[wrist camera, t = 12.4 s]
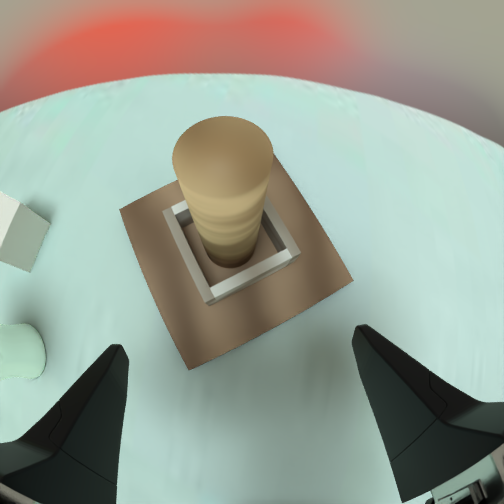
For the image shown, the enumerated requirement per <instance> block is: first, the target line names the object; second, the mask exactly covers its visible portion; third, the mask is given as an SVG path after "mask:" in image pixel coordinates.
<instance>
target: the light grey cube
mask: <svg viewBox="0 0 504 504" xmlns="http://www.w3.org/2000/svg"><path fill="white" fill-rule="evenodd" d="M50 225H51V224H50V223H49V222H47V221H46V220H45V219H43V218H42V217H40V216H39V215H37V214H36V213H35V212H33V211H32V210H30V209H29V208H28V207H26V206H25V205H23V204H22V203H21V202H19V201H17V200H15V199H13V198H11V197H10V196H8V195H6V194H4V193H2V192H0V261H2V262H4V263H7V264H9V265H12V266H14V267H17V268H19V269H22V270H25V271H27V272H31V270H32V267H33V264H34V262H35V259H36V257H37V254H38V252H39V249H40V247H41V245H42V242H43V240H44V238H45V236H46V234H47V231H48V229H49V227H50Z"/></svg>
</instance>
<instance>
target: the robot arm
mask: <svg viewBox="0 0 504 504" xmlns="http://www.w3.org/2000/svg"><path fill="white" fill-rule="evenodd" d="M352 347H353V351H354V354H355V358H356V362H357V366H358V370H359V374H360V378H361V380H362V383H363V386H364V389H365V391H366V394H367V397H368V399H369V402H370V405H371V408H372V410H373V413H374V416H375V419H376V422H377V425H378V428H379V430H380V433H381V436H382V439H383V442H384V445H385V448H386V451H387V455H388V458H389V461H390V464H391V468H392V471H393V474H394V477H395V481H396V484H397V488H398V491H399V494H400V498H401V501H402V503H404V502H407V501H409V500H411V499H413V498H416V497H418V496H420V495H422V494H424V493H426V492H428V491H431V493H432V496H433V497H432V498H430V499H428V500H427V501H426V503H425V504H504V402H490V403H489V402H481V401H478V400H476V399H474V398H472V397H471V396H469V395H467V394H466V393H464V392H462V391H460V390H459V389H457V388H455V387H454V386H452V385H450V384H449V383H447V382H446V381H444V380H443V379H441V378H440V377H438V376H437V375H436V374H434V373H433V372H432V371H429V369H427V368H426V367H425V366H423V365H422V364H421V363H419V362H418V361H416V360H415V359H414V358H412V357H411V356H410V355H408V354H407V353H406V352H404V351H403V350H401V349H400V348H399V347H397V346H396V345H395V344H393V343H392V342H390V341H389V340H388V339H386V338H385V337H384V336H382V335H381V334H379V333H378V332H377V331H375V330H374V329H373V328H371V327H370V326H368V325H367V324H363V325H358V326H356V328H355V331H354V335H353V338H352ZM128 370H129V359H128V356H127V354H126V352H125V350H124V348H123V347H122V345H121V344H111V345H110V346H109V347H108V348H107V349H106V350H105V351H104V352H103V353H102V354H101V355H100V356H99V357H98V358H97V359H96V361H95V362H94V363H93V364H92V365H91V366H90V367H89V368H88V369H87V370H86V371H85V372H84V373H83V374H82V375H81V376H80V378H79V379H78V380H77V381H76V382H75V383H74V384H73V385H72V386H71V387H70V388H69V389H68V391H67V392H66V393H65V394H64V395H63V396H62V397H61V398H60V399H59V401H57V402H56V404H55V405H54V406H53V407H52V408H51V409H50V410H49V411H48V412H47V413H46V414H45V415H44V416H43V417H42V418H41V419H40V420H39V421H38V422H37V423H36V424H35V425H34V426H32V427H31V428H30V429H29V430H28V431H27V432H26V433H25V434H24V435H23V436H21V437H20V438H19V439H17V440H15V441H12V442H6V443H0V504H116V496H117V486H116V485H117V476H118V464H119V453H120V444H121V435H122V427H123V420H124V413H125V406H126V399H127V387H128Z"/></svg>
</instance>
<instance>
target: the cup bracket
mask: <svg viewBox="0 0 504 504" xmlns="http://www.w3.org/2000/svg"><path fill="white" fill-rule="evenodd" d="M119 210H120V213H121V216H122V219H123V222H124V225H125V228H126V231H127V233H128V236H129V239H130V242H131V244H132V247H133V250H134V252H135V255H136V257H137V260H138V263H139V265H140V268H141V270H142V272H143V275H144V277H145V280H146V282H147V285H148V287H149V289H150V292H151V294H152V296H153V298H154V301H155V303H156V305H157V307H158V310H159V312H160V314H161V316H162V318H163V320H164V322H165V325H166V327H167V329H168V331H169V333H170V335H171V337H172V339H173V341H174V343H175V345H176V347H177V349H178V351H179V353H180V355H181V357H182V359H183V361H184V362H185V364H186V366H187V368H188V370H191V369H193V368H195V367H197V366H199V365H202V364H204V363H206V362H208V361H210V360H212V359H214V358H216V357H218V356H220V355H222V354H224V353H226V352H228V351H230V350H232V349H234V348H236V347H238V346H240V345H242V344H244V343H246V342H248V341H250V340H252V339H254V338H256V337H257V336H259V335H261V334H263V333H265V332H267V331H269V330H271V329H272V328H274V327H276V326H278V325H280V324H281V323H283V322H285V321H287V320H289V319H290V318H292V317H294V316H296V315H297V314H299V313H301V312H303V311H304V310H306V309H308V308H309V307H311V306H313V305H315V304H316V303H318V302H320V301H321V300H323V299H325V298H326V297H328V296H330V295H331V294H333V293H334V292H336V291H338V290H339V289H341V288H343V287H344V286H346V285H347V284H349V283H351V282H352V281H354V280H353V279H352V277H351V275H350V273H349V271H348V270H347V268H346V266H345V264H344V263H343V261H342V259H341V258H340V256H339V254H338V252H337V251H336V249H335V247H334V246H333V244H332V242H331V241H330V239H329V237H328V236H327V234H326V233H325V231H324V229H323V228H322V226H321V224H320V223H319V221H318V220H317V218H316V216H315V215H314V213H313V212H312V210H311V208H310V207H309V205H308V204H307V202H306V201H305V199H304V198H303V196H302V195H301V193H300V192H299V190H298V188H297V187H296V185H295V184H294V182H293V181H292V179H291V178H290V176H289V175H288V174H287V172H286V171H285V169H284V168H283V166H282V165H281V163H280V162H279V160H278V159H277V158H276V156H275V155H274V153H273V162H272V167H271V172H270V177H269V182H268V187H267V192H266V197H265V202H264V207H263V213H262V218H261V223H260V228H259V233H258V238H257V243H256V248H255V252H254V254H253V256H252V257H251V259H250V260H249V261H248V262H247V263H246V264H244V265H242V266H240V267H237V268H231V269H229V268H223V267H220V266H218V265H216V264H214V263H213V262H212V261H211V260H210V259H209V257H208V256H207V254H206V251H205V249H204V246H203V244H202V241H201V239H200V236H199V234H198V231H197V229H196V226H195V224H194V221H193V218H192V216H191V213H190V211H189V208H188V205H187V203H186V200H185V198H184V195H183V192H182V190H181V187H180V184H179V181H178V180H176V181H174V182H172V183H170V184H168V185H166V186H164V187H162V188H160V189H158V190H156V191H154V192H152V193H150V194H148V195H146V196H144V197H142V198H140V199H138V200H136V201H134V202H132V203H130V204H129V205H127V206H125V207H123V208H121V209H119Z"/></svg>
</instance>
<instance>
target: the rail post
mask: <svg viewBox="0 0 504 504" xmlns="http://www.w3.org/2000/svg"><path fill="white" fill-rule="evenodd" d="M172 162H173V167H174V171H175V173H176V176H177V179H178V181H179V184H180V187H181V190H182V192H183V195H184V198H185V200H186V203H187V205H188V208H189V211H190V213H191V216H192V218H193V221H194V224H195V226H196V229H197V231H198V234H199V236H200V239H201V241H202V244H203V246H204V249H205V251H206V254H207V256H208V257H209V259H210V260H211V261H212V262H213V263H214V264H216V265H218V266H220V267H223V268H229V269H231V268H237V267H240V266H242V265H244V264H246V263H247V262H248V261H249V260H250V259H251V257H252V256H253V254H254V252H255V248H256V243H257V238H258V233H259V228H260V223H261V218H262V213H263V207H264V202H265V197H266V192H267V187H268V182H269V177H270V172H271V167H272V162H273V147H272V144H271V142H270V140H269V138H268V136H267V135H266V133H265V132H264V131H263V130H262V129H261V128H259V127H258V126H257V125H255V124H254V123H252V122H250V121H247V120H245V119H242V118H238V117H231V116H220V117H213V118H209V119H206V120H203V121H200V122H198V123H196V124H194V125H193V126H191V127H190V128H189V129H187V130H186V131H185V132H184V133H183V134H182V135H181V137H180V138H179V139H178V141H177V143H176V145H175V147H174V150H173V156H172Z"/></svg>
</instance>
